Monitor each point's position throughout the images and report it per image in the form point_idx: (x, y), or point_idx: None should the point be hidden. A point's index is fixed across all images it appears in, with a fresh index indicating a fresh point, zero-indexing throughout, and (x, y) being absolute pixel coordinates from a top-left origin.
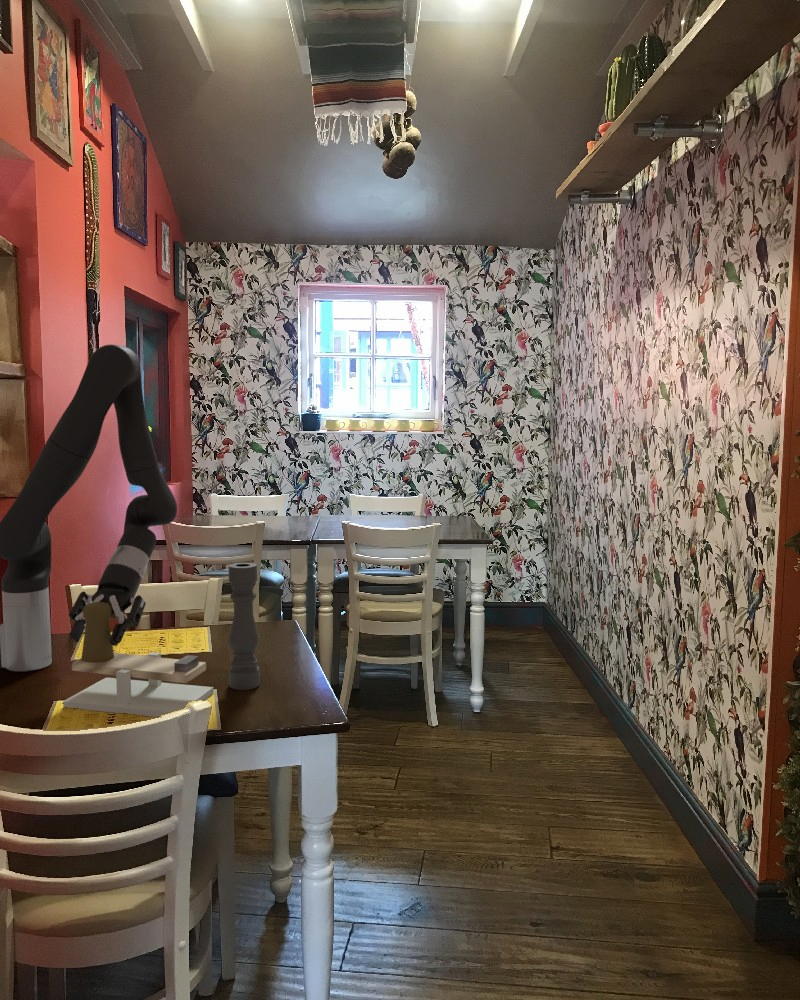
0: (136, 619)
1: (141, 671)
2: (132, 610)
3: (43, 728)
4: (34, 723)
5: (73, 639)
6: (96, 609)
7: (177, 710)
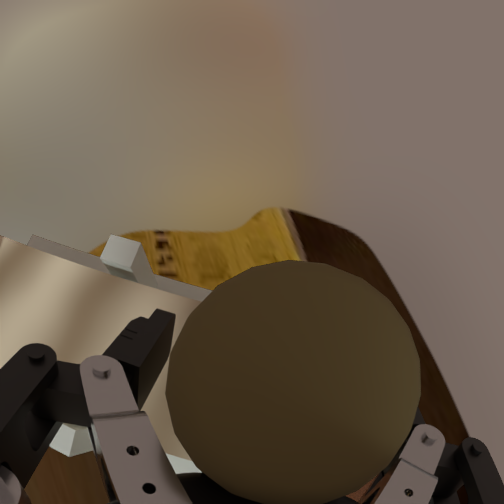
0: (29, 423)
1: (71, 261)
2: (5, 400)
3: (287, 210)
4: (317, 233)
5: None
6: (269, 267)
7: (33, 246)
